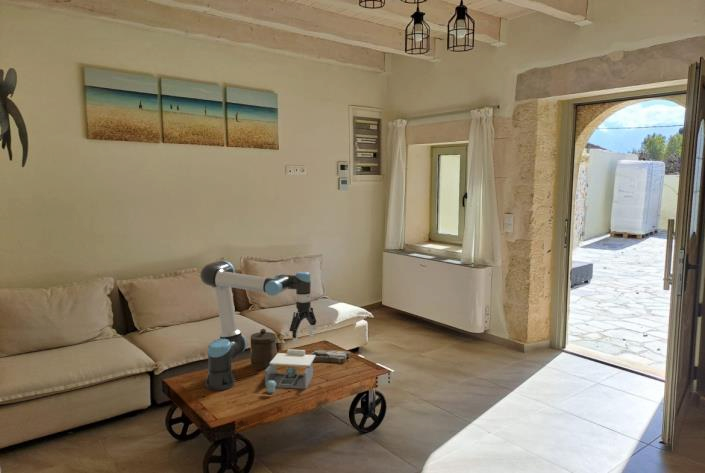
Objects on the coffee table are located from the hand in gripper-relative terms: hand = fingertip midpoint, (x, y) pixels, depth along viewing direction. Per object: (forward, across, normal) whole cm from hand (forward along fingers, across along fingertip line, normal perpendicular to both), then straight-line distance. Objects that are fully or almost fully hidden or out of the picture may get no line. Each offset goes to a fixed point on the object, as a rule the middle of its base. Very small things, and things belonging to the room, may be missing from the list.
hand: (303, 340), depth 254 cm
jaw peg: (+24, -18, +6) cm, 31 cm away
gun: (+25, +37, +9) cm, 46 cm away
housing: (+24, -4, +6) cm, 25 cm away
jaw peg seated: (+23, -1, +8) cm, 24 cm away
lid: (+14, +3, +10) cm, 17 cm away
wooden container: (+25, +8, +36) cm, 44 cm away
